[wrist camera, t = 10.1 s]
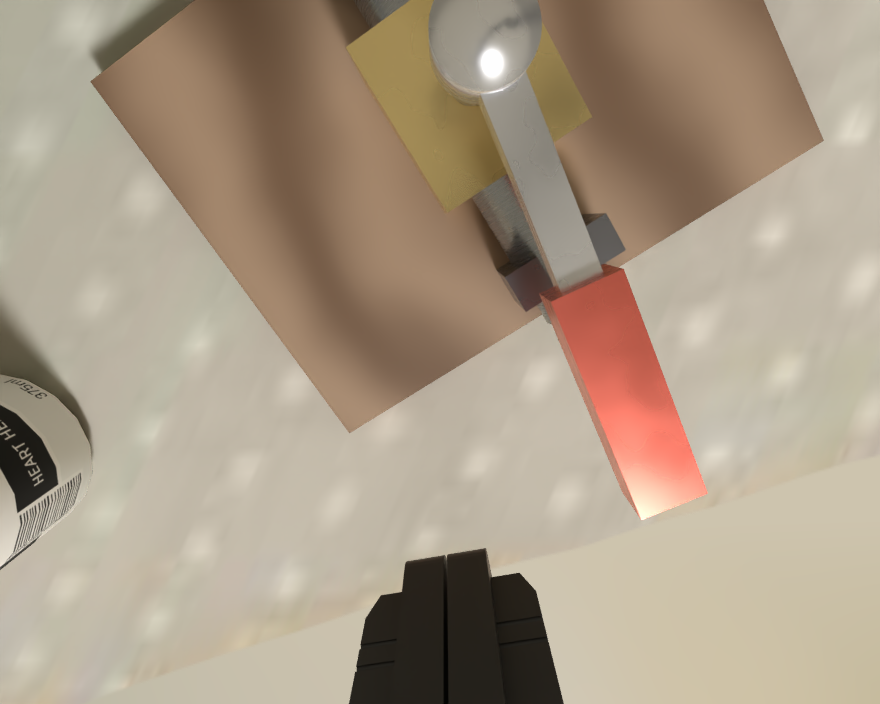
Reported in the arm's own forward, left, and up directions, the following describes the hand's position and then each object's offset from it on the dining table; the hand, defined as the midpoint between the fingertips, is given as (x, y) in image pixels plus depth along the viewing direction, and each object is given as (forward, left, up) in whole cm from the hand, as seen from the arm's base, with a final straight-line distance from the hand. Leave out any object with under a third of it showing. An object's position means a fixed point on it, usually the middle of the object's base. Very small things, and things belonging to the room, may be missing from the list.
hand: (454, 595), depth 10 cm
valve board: (-7, -9, -16) cm, 20 cm away
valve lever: (-6, -3, -7) cm, 9 cm away
